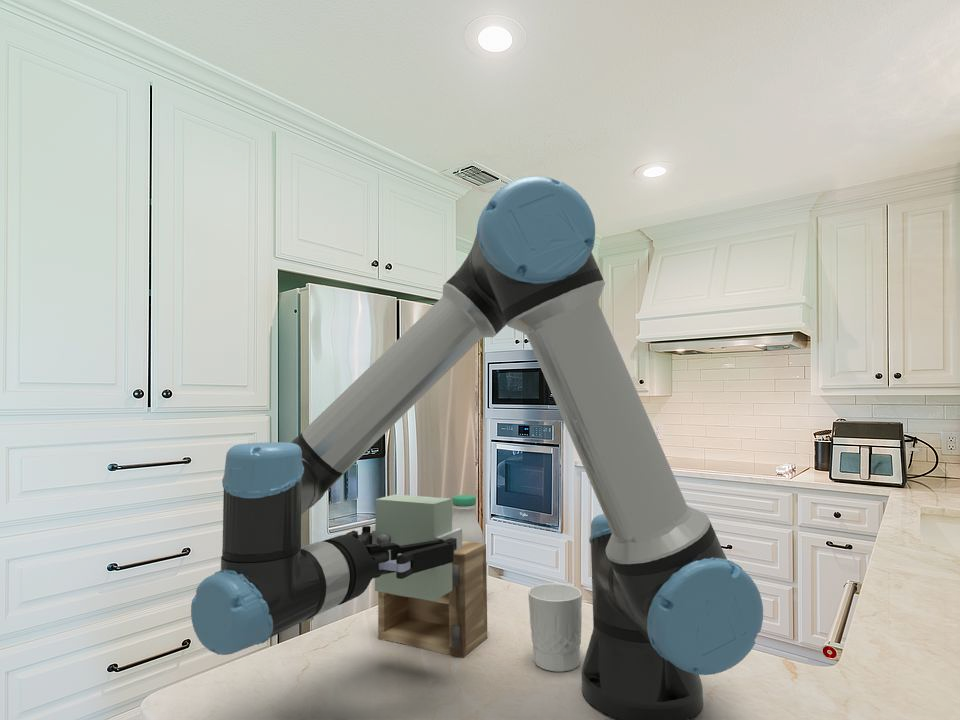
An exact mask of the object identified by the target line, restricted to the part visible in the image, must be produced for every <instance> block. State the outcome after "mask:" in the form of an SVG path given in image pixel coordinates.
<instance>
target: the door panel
mask: <svg viewBox="0 0 960 720" xmlns="http://www.w3.org/2000/svg"><path fill="white" fill-rule="evenodd" d="M374 518H375V519H374V520H375V521H374V523H375V525H374V527H375V528H374V530H375V544H377V545H382V544H389V543H395V544H397V545H399V546H401V545H408V544H414V543H421V542H427V541H434V540H435V537H438V536H440V535H443V534H445V533H448V532H450V531H452V518H453V498H448V497H436V496H435V497H434V496H422V495H411V494H410V495H409V494H408V495H407V494H391V495H388V496H381V497H380V498H379V497H378V498H375V517H374ZM388 552H389V560H391V550H388ZM374 591H375V592H378V591H379V592H384V593H390V594H396V595H402V596H407V597H413V598H419V599H424V600H430V601H435V600H437V599H439V598H440V597H442V596H444V595H445V594H447V593H449V592H450V591H452V563H448V564H445V565H441V566H438V567H434V568H431V569H427V570H424V571H420V572H417V573H414V574H411V575H409V576H408V577H406V578H403V579H398V578H396V572H394V573H388V574H383V575H381V576H380V577H378V578H374Z"/></svg>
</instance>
